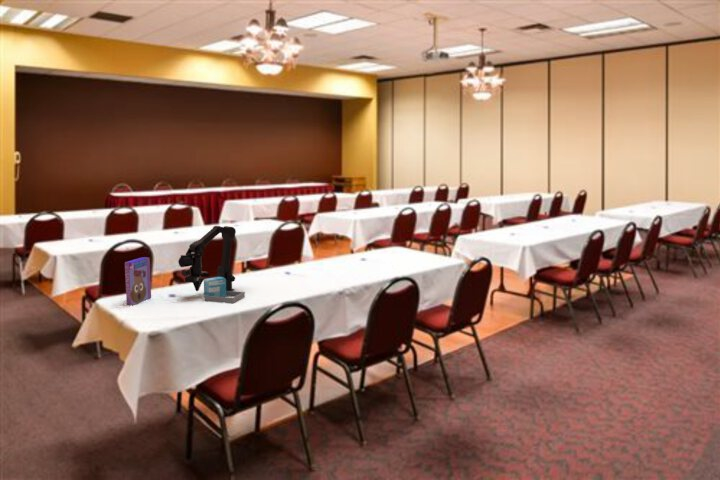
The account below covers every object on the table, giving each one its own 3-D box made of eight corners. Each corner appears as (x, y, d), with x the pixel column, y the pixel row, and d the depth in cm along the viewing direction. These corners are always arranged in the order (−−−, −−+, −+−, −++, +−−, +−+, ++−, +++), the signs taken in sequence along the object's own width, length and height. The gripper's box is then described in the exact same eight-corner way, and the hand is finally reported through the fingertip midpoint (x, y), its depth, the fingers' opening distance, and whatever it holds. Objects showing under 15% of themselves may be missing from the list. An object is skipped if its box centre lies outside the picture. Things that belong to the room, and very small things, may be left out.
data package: (207, 300, 347) (207, 280, 346) (204, 299, 351) (203, 279, 349) (226, 297, 355) (226, 277, 353) (222, 296, 359) (222, 276, 357)
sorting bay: (217, 295, 361) (217, 290, 361) (244, 297, 357) (244, 292, 356) (204, 301, 346) (204, 296, 346) (233, 303, 342) (233, 298, 342)
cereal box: (134, 305, 336) (132, 262, 332) (126, 304, 337) (124, 262, 333) (151, 297, 353) (149, 257, 349) (143, 297, 354) (142, 256, 350)
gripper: (191, 261, 364) (192, 286, 366) (175, 267, 346) (176, 293, 348) (208, 262, 361) (209, 288, 363) (193, 268, 343) (194, 295, 345)
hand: (197, 291), depth 355 cm, fingers closed
